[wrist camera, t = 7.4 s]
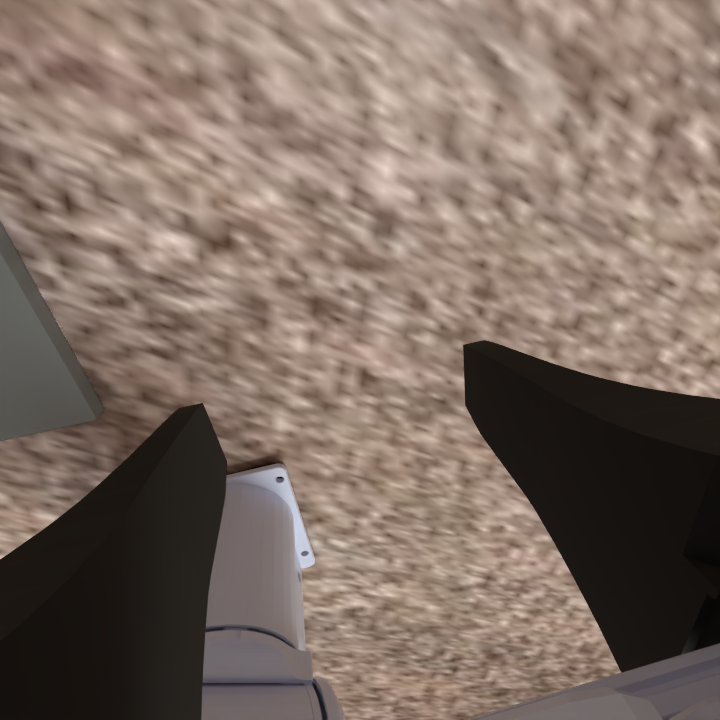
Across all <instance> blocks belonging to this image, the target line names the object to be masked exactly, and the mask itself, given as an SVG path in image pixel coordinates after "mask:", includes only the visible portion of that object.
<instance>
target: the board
mask: <svg viewBox="0 0 720 720" xmlns="http://www.w3.org/2000/svg"><path fill="white" fill-rule="evenodd" d="M104 409H105V408H104V407H103V405H102V403H101V401H100V399H99V398H98V396H97V394H96V392H95V390H94V389H93V387H92V385H91V383H90V382H89V380H88V378H87V376H86V374H85V373H84V371H83V369H82V367H81V365H80V364H79V362H78V360H77V358H76V356H75V355H74V353H73V351H72V349H71V347H70V346H69V344H68V342H67V340H66V339H65V337H64V335H63V333H62V331H61V330H60V328H59V326H58V324H57V322H56V321H55V319H54V317H53V315H52V313H51V312H50V310H49V308H48V306H47V304H46V303H45V301H44V299H43V297H42V296H41V294H40V292H39V290H38V288H37V287H36V285H35V283H34V281H33V279H32V278H31V276H30V274H29V272H28V270H27V269H26V267H25V265H24V263H23V261H22V260H21V258H20V256H19V254H18V253H17V251H16V249H15V247H14V245H13V244H12V242H11V240H10V238H9V236H8V235H7V233H6V231H5V229H4V227H3V226H2V224H1V222H0V441H4V440H8V439H13V438H18V437H22V436H27V435H31V434H36V433H40V432H45V431H49V430H54V429H58V428H63V427H67V426H72V425H76V424H81V423H85V422H90V421H94V420H97V419H98V418H99V416H100V415H101V413H102V412H103V411H104Z"/></svg>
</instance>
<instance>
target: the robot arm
mask: <svg viewBox="0 0 720 720" xmlns="http://www.w3.org/2000/svg"><path fill="white" fill-rule="evenodd" d="M463 350H464V379H465V405H466V407H467V409H468V411H469V413H470V415H471V417H472V419H473V421H474V423H475V425H476V426H477V428H478V430H479V432H480V434H481V435H482V436H483V438H484V439H485V441H486V442H487V443H488V445H489V446H490V448H491V449H492V450H493V452H494V453H495V455H496V456H497V457H498V459H499V460H500V461H501V463H502V464H503V465H504V467H505V468H506V469H507V471H508V472H509V474H510V475H511V476H512V478H513V479H514V480H515V482H516V483H517V484H518V486H519V487H520V488H521V490H522V491H523V493H524V494H525V495H526V497H527V498H528V500H529V501H530V503H531V504H532V506H533V507H534V509H535V510H536V512H537V514H538V516H539V517H540V519H541V521H542V522H543V524H544V526H545V528H546V529H547V531H548V533H549V534H550V536H551V538H552V540H553V541H554V543H555V545H556V547H557V548H558V550H559V552H560V554H561V556H562V557H563V559H564V561H565V563H566V565H567V567H568V568H569V570H570V572H571V574H572V576H573V577H574V579H575V581H576V583H577V585H578V587H579V589H580V591H581V593H582V595H583V596H584V598H585V600H586V602H587V604H588V606H589V608H590V610H591V612H592V614H593V616H594V618H595V620H596V621H597V623H598V625H599V627H600V629H601V631H602V634H603V636H604V638H605V640H606V642H607V644H608V646H609V648H610V650H611V652H612V654H613V656H614V658H615V660H616V662H617V664H618V666H619V668H620V670H621V672H622V673H619V674H616V675H612V676H609V677H606V678H602V679H599V680H596V681H592V682H589V683H586V684H582V685H579V686H576V687H572V688H569V689H566V690H562V691H559V692H556V693H552V694H549V695H546V696H542V697H539V698H536V699H532V700H529V701H526V702H522V703H519V704H516V705H512V706H509V707H506V708H502V709H499V710H496V711H492V712H489V713H486V714H482V715H479V716H476V717H472V718H469V719H466V720H720V399H716V398H708V397H700V396H692V395H685V394H678V393H672V392H666V391H660V390H653V389H648V388H643V387H638V386H633V385H629V384H624V383H620V382H615V381H611V380H607V379H603V378H599V377H595V376H591V375H588V374H584V373H581V372H578V371H574V370H571V369H568V368H565V367H562V366H559V365H555V364H552V363H550V362H547V361H544V360H541V359H538V358H535V357H533V356H530V355H527V354H524V353H522V352H519V351H516V350H513V349H511V348H508V347H505V346H502V345H499V344H496V343H493V342H489V341H485V340H483V341H479V342H474V343H470V344H465V345H463ZM277 477H283V478H277ZM314 563H315V556H314V553H313V550H312V547H311V544H310V541H309V538H308V535H307V532H306V528H305V525H304V522H303V519H302V516H301V513H300V510H299V507H298V504H297V501H296V497H295V494H294V491H293V488H292V485H291V482H290V479H289V476H288V473H287V470H286V467H285V466H284V465H283V464H280V463H277V464H272V465H268V466H264V467H260V468H255V469H251V470H247V471H243V472H239V473H234V474H230V475H227V461H226V458H225V456H224V453H223V451H222V448H221V446H220V444H219V441H218V439H217V436H216V434H215V432H214V429H213V427H212V424H211V422H210V419H209V417H208V415H207V412H206V410H205V407H204V405H203V403H200V404H196V405H191V406H187V407H182V408H179V409H178V410H177V411H175V412H174V413H173V414H172V415H171V416H170V417H169V418H168V419H167V420H166V421H165V422H164V423H163V424H162V425H161V426H160V427H159V428H158V429H157V430H156V431H155V432H154V433H153V434H152V435H151V436H150V437H149V438H148V439H147V440H146V441H145V442H144V443H142V444H141V445H140V446H139V447H138V448H137V449H136V450H135V451H134V452H133V453H132V454H131V455H130V456H129V457H128V458H127V459H126V460H125V461H124V462H123V463H122V464H121V465H120V466H119V467H118V468H116V469H115V470H114V471H113V472H112V473H111V474H110V475H109V476H108V477H107V478H106V479H104V480H103V481H102V482H101V483H100V484H99V485H98V486H97V487H96V488H95V489H93V490H92V491H91V492H90V493H89V494H88V495H87V496H85V497H84V498H83V499H82V500H80V501H79V502H78V503H77V504H76V505H74V506H73V507H72V508H71V509H69V510H68V511H67V512H66V513H64V514H63V515H62V516H60V517H59V518H58V519H57V520H55V521H54V522H53V523H51V524H50V525H49V526H47V527H46V528H45V529H43V530H42V531H41V532H39V533H38V534H36V535H35V536H33V537H32V538H31V539H29V540H28V541H26V542H25V543H23V544H22V545H21V546H19V547H18V548H16V549H15V550H13V551H12V552H11V553H9V554H8V555H6V556H5V557H3V558H2V559H1V560H0V720H346V719H345V715H344V712H343V709H342V706H341V704H340V702H339V700H338V698H337V697H336V695H335V693H334V691H333V689H332V687H331V685H330V684H329V683H328V681H327V680H325V679H323V678H313V670H312V654H311V652H310V651H305V630H304V611H303V591H302V572H301V569H302V568H306V567H310V566H312V565H313V564H314Z"/></svg>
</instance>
